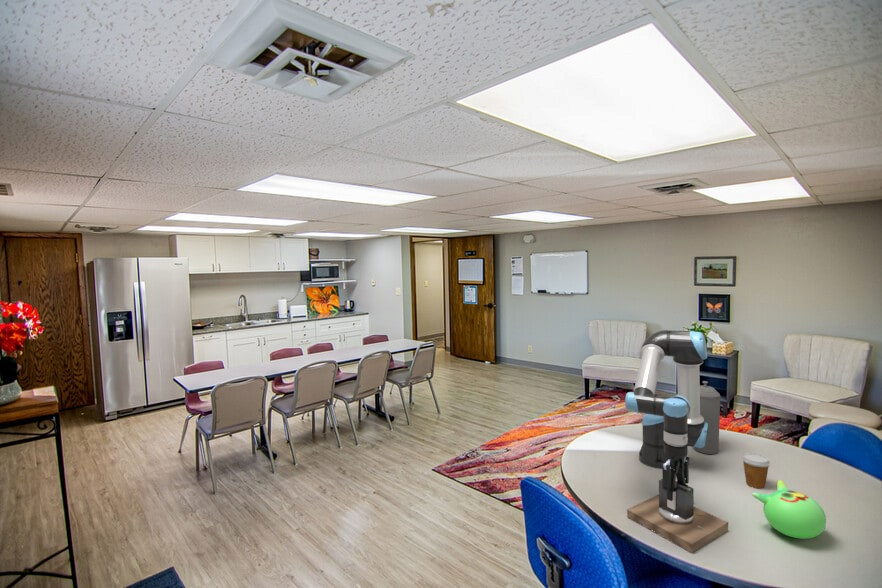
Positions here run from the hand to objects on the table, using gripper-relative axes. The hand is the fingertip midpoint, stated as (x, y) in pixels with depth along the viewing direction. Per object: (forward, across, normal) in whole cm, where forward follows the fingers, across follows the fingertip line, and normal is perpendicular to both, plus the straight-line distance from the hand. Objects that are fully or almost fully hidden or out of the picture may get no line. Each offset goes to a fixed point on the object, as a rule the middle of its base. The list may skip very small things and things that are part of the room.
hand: (675, 505), depth 153 cm
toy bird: (+7, +28, -24) cm, 38 cm away
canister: (+7, +71, +28) cm, 77 cm away
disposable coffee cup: (+7, +53, -2) cm, 53 cm away
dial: (+4, 0, 0) cm, 4 cm away
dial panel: (+7, 0, 0) cm, 7 cm away
